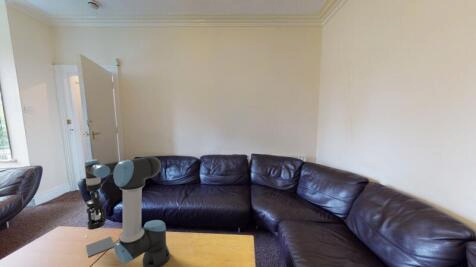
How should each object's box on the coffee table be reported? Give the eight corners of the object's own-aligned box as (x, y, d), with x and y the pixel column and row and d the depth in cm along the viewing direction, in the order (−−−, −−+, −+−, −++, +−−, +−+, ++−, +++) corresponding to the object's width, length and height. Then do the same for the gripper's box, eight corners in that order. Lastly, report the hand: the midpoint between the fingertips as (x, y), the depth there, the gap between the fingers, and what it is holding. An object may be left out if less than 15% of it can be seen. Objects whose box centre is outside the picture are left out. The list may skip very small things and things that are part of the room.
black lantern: (82, 229, 120) (79, 194, 119) (94, 221, 130) (91, 189, 128) (100, 229, 120) (97, 194, 118) (110, 221, 129) (108, 189, 128)
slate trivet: (114, 246, 126) (114, 245, 126) (88, 257, 116) (88, 256, 116) (110, 237, 136) (110, 236, 136) (86, 246, 126) (86, 245, 126)
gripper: (103, 185, 118) (106, 220, 119) (98, 178, 133) (100, 209, 135) (88, 189, 112) (91, 225, 114) (84, 181, 128) (87, 213, 130)
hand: (96, 216), depth 125 cm, fingers closed on black lantern, 9 cm apart
